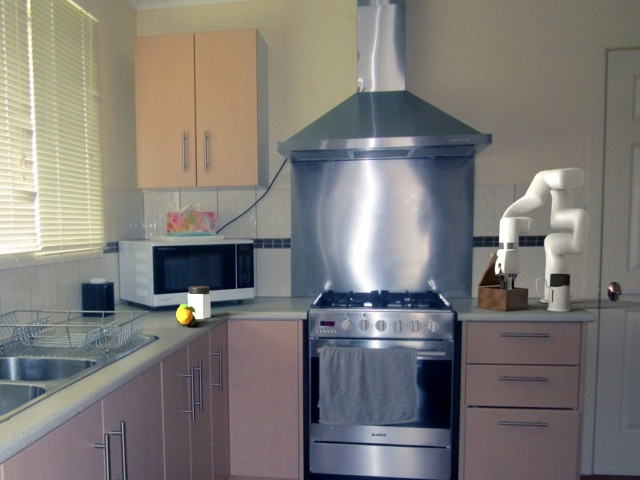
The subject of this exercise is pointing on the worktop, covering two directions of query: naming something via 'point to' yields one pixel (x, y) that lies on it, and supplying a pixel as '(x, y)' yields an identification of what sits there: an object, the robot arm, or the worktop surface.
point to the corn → (185, 314)
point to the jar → (200, 301)
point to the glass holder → (558, 292)
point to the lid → (490, 274)
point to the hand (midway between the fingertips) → (507, 290)
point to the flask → (509, 283)
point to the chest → (502, 298)
